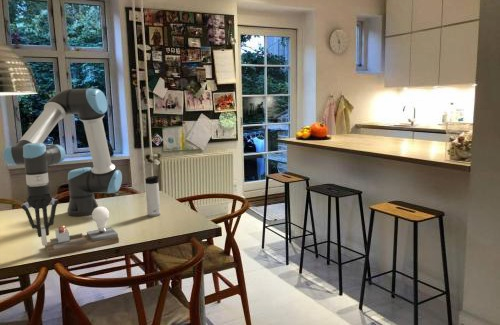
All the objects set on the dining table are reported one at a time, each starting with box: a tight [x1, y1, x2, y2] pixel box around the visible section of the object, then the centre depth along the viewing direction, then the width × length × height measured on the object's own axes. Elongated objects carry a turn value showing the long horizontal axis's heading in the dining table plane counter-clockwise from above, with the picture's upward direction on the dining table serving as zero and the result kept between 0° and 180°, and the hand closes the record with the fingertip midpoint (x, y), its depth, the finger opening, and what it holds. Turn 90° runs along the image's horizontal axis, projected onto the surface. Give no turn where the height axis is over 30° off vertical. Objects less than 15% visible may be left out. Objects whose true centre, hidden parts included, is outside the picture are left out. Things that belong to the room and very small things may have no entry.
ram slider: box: [54, 224, 70, 244], centre depth 161 cm, size 6×4×7 cm, turn 34°
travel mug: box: [145, 175, 161, 218], centre depth 205 cm, size 6×7×20 cm
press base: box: [44, 227, 120, 258], centre depth 166 cm, size 12×26×4 cm, turn 124°
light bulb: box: [91, 205, 110, 232], centre depth 169 cm, size 7×7×11 cm
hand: (44, 244), depth 158 cm, fingers closed
